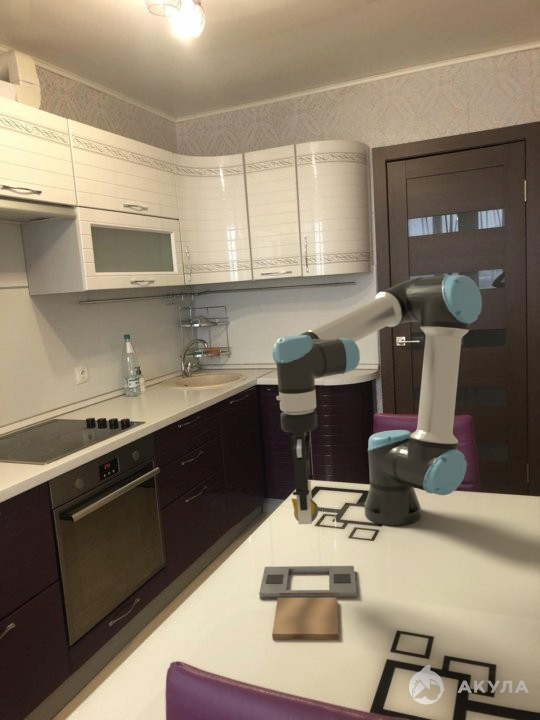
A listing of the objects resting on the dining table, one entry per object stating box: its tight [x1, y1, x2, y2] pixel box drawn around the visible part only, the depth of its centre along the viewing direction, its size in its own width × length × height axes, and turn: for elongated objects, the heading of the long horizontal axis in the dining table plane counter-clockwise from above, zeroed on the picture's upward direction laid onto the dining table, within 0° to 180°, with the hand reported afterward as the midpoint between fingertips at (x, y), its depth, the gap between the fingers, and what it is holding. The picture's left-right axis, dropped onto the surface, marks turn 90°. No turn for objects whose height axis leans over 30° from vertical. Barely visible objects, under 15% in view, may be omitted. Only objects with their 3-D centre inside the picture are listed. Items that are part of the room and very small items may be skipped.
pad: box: [271, 598, 339, 640], centre depth 108 cm, size 12×12×1 cm
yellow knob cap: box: [291, 498, 320, 523], centre depth 119 cm, size 5×5×10 cm
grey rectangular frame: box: [258, 565, 357, 599], centre depth 121 cm, size 20×11×1 cm, turn 84°
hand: (305, 516), depth 119 cm, fingers closed on yellow knob cap, 6 cm apart
